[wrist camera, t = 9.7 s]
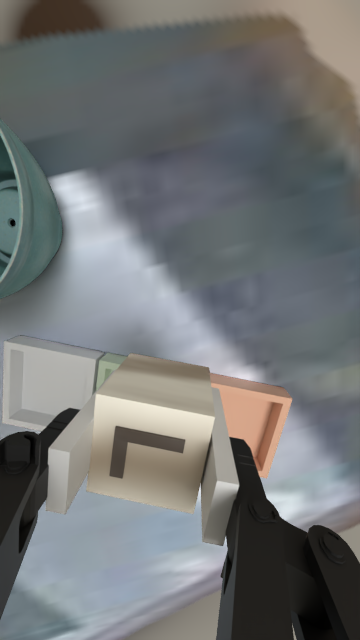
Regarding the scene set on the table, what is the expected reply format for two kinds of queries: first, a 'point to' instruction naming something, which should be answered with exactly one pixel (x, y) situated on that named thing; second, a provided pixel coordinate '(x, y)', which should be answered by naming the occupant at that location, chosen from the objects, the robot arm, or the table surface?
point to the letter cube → (152, 432)
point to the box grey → (45, 380)
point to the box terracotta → (254, 415)
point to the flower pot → (24, 216)
